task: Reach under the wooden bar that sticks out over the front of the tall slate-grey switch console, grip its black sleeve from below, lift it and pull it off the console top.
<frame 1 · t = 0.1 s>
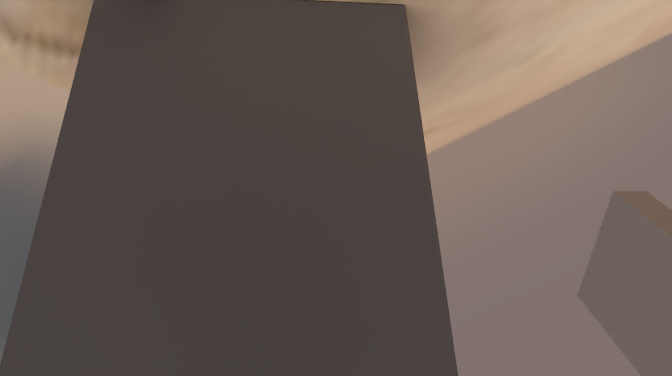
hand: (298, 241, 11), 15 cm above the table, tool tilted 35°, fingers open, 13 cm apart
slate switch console: (257, 45, 26), on the table
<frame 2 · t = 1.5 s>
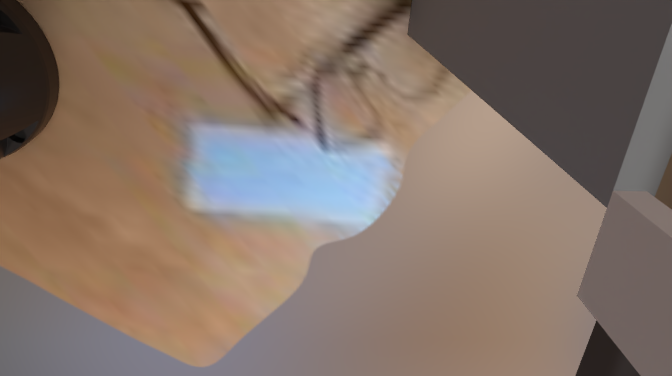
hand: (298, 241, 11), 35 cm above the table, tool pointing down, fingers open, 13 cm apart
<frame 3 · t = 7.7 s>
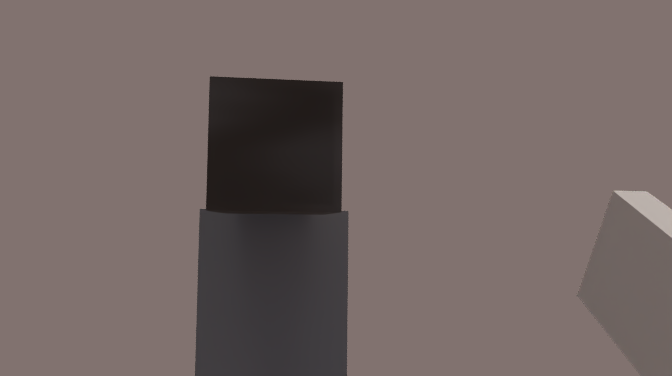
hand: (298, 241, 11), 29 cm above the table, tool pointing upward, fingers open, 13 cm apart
wooden bar: (275, 212, 26), point 30 cm above the table, touching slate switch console
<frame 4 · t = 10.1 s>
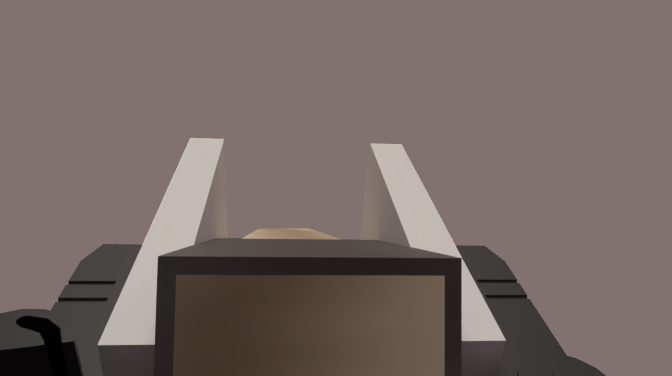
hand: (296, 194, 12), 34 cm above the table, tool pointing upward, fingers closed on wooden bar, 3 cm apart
wooden bar: (288, 319, 18), point 30 cm above the table, touching gripper, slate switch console
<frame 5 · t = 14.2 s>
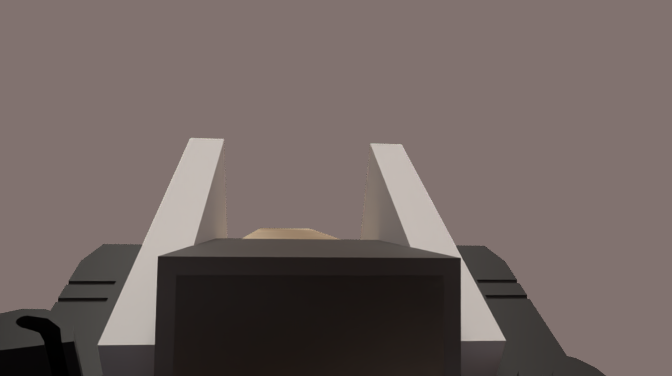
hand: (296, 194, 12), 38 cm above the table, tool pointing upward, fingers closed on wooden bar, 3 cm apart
wooden bar: (288, 319, 19), point 34 cm above the table, touching gripper
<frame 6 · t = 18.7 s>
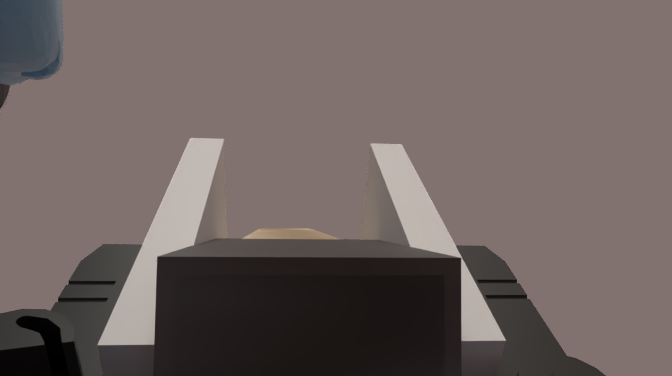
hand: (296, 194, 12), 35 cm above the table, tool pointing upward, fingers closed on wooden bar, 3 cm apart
wooden bar: (288, 319, 18), point 30 cm above the table, touching gripper
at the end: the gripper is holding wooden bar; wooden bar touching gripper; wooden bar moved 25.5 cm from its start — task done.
